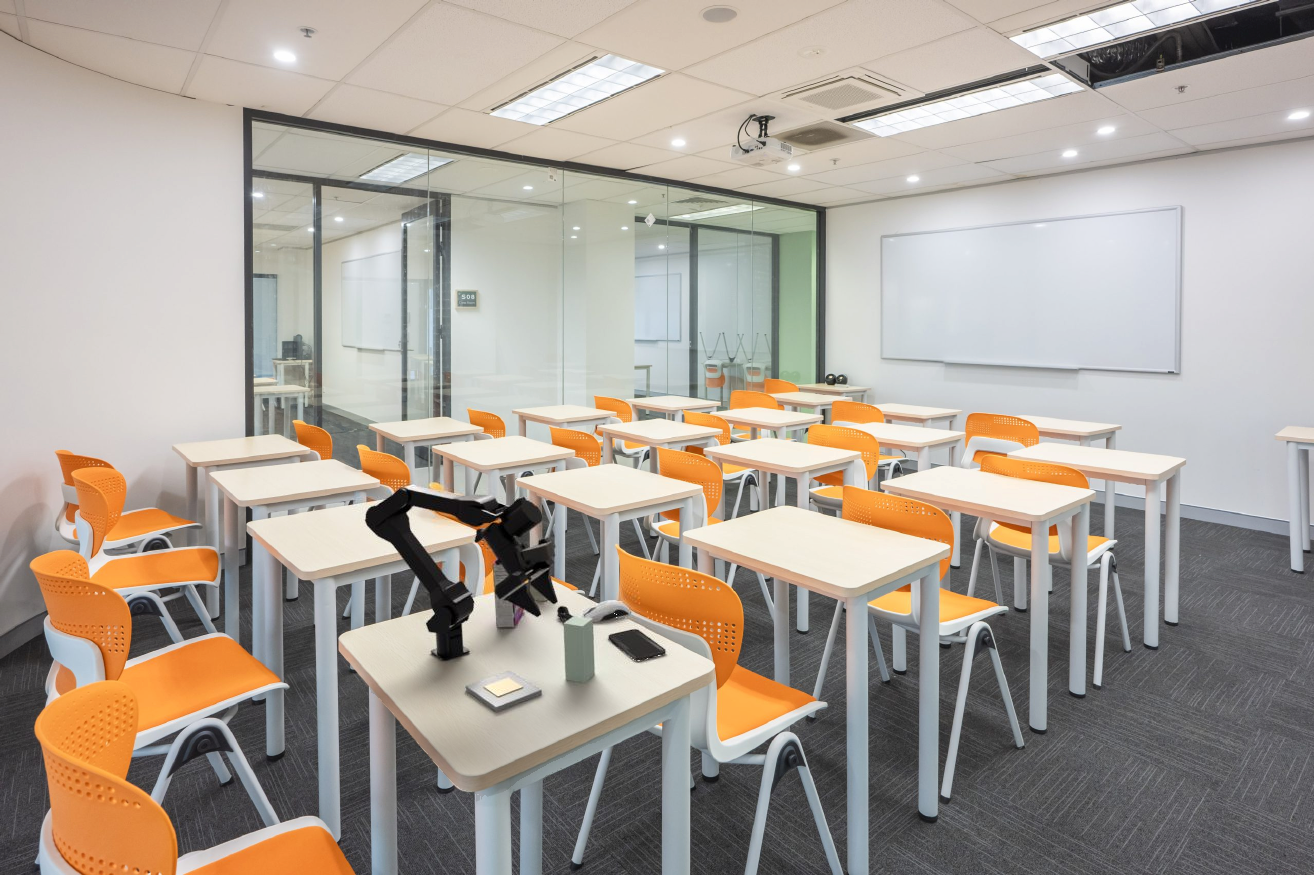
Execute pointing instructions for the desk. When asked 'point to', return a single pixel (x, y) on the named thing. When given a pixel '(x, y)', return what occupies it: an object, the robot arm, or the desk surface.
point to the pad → (503, 690)
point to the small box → (536, 594)
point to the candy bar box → (504, 603)
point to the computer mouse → (599, 611)
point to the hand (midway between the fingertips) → (547, 609)
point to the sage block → (579, 649)
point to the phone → (636, 644)
